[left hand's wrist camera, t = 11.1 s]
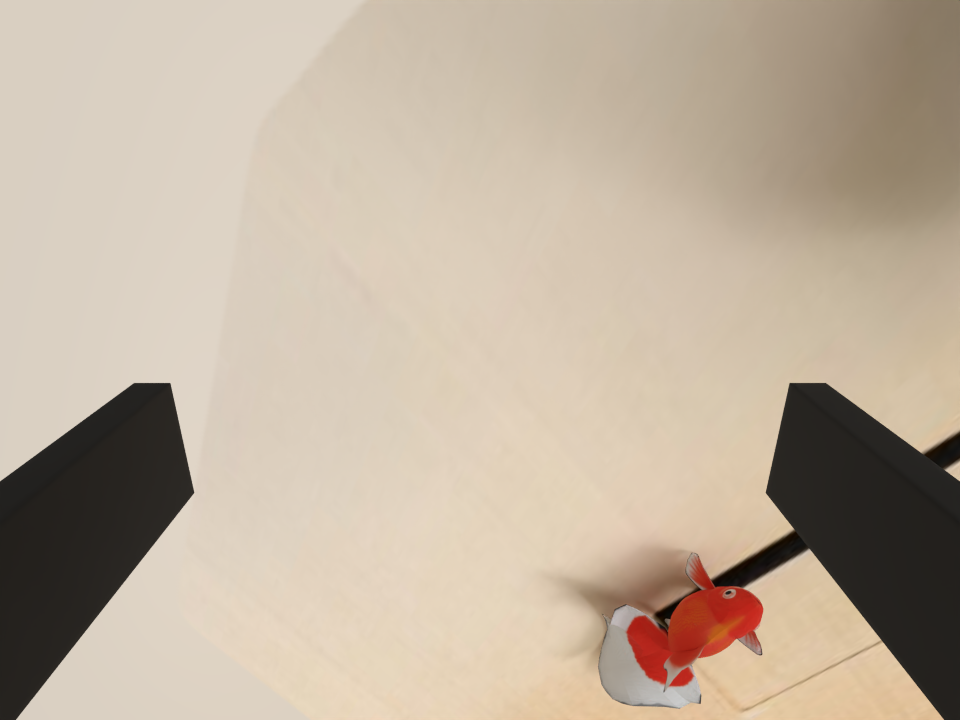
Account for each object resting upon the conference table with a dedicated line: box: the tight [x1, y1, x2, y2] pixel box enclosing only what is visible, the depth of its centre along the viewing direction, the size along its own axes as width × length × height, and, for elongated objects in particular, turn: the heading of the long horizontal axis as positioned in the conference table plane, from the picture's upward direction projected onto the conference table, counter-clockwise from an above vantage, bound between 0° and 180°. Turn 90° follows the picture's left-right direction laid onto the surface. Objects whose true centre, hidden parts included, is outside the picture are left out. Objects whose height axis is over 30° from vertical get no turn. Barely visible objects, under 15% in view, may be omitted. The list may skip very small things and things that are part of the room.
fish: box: [598, 553, 763, 709], centre depth 45 cm, size 11×16×10 cm
